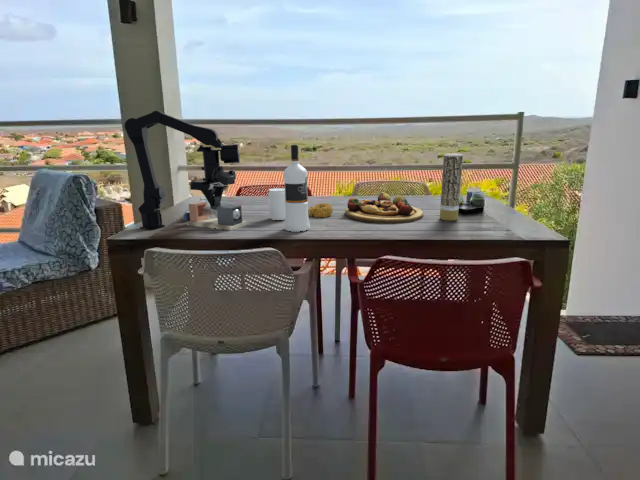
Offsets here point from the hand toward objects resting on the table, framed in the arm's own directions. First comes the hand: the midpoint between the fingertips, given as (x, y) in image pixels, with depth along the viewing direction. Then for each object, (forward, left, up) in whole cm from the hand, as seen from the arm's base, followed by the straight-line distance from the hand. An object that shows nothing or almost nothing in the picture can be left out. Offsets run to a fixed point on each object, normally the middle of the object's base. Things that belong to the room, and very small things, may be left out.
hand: (215, 205), depth 155 cm
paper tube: (+43, -79, -8) cm, 90 cm away
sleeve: (0, -6, -6) cm, 9 cm away
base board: (0, 0, -8) cm, 8 cm away
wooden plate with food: (+42, -53, -8) cm, 68 cm away
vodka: (+6, -32, -8) cm, 33 cm away
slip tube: (0, -2, -4) cm, 5 cm away
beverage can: (+18, -17, -8) cm, 26 cm away
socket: (0, +9, -6) cm, 11 cm away
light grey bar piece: (+12, +20, -8) cm, 25 cm away
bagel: (+30, -29, -8) cm, 43 cm away
